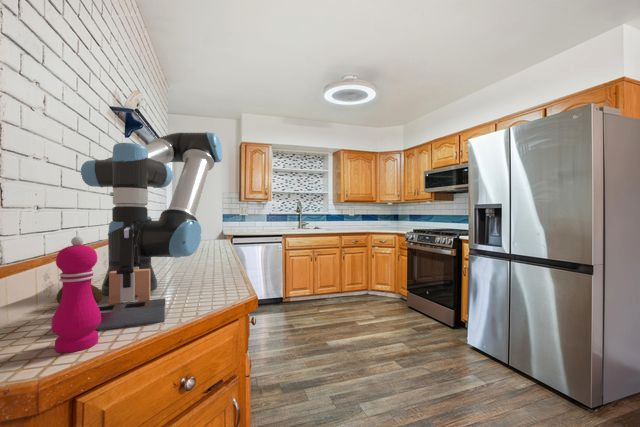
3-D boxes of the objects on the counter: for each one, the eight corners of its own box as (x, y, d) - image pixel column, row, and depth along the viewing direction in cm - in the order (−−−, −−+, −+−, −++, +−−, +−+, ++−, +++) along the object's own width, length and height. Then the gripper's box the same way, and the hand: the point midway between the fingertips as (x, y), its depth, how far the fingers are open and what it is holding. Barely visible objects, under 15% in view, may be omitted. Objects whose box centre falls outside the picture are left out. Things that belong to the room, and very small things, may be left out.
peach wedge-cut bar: (111, 311, 77) (111, 271, 77) (150, 306, 80) (150, 268, 80) (109, 314, 74) (109, 273, 74) (149, 310, 78) (149, 270, 78)
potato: (92, 309, 78) (92, 282, 78) (46, 312, 77) (46, 283, 77) (107, 302, 85) (107, 276, 85) (65, 304, 84) (65, 278, 84)
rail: (74, 323, 68) (74, 307, 68) (165, 312, 76) (165, 298, 76) (63, 334, 62) (63, 317, 62) (164, 321, 69) (164, 305, 69)
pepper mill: (74, 356, 52) (74, 238, 52) (40, 352, 54) (40, 237, 54) (110, 339, 59) (110, 235, 60) (79, 336, 61) (80, 235, 61)
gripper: (120, 207, 86) (119, 288, 85) (102, 203, 66) (102, 309, 65) (150, 207, 89) (150, 286, 88) (143, 204, 69) (143, 305, 69)
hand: (130, 296), depth 77 cm, fingers open, 9 cm apart
